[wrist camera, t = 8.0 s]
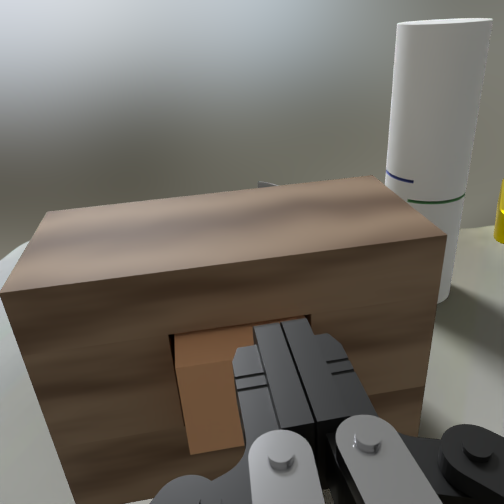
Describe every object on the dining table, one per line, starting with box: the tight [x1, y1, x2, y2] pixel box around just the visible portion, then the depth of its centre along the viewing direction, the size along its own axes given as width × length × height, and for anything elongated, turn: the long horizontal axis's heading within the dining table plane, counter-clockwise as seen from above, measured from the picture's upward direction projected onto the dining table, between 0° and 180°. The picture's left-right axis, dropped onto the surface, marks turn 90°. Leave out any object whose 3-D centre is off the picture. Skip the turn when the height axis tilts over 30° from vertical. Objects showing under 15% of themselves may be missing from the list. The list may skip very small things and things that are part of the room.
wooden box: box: [0, 175, 447, 504], centre depth 31 cm, size 10×22×16 cm, turn 99°
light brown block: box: [174, 315, 305, 455], centre depth 28 cm, size 8×7×6 cm
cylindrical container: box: [385, 18, 493, 304], centre depth 44 cm, size 7×7×25 cm
